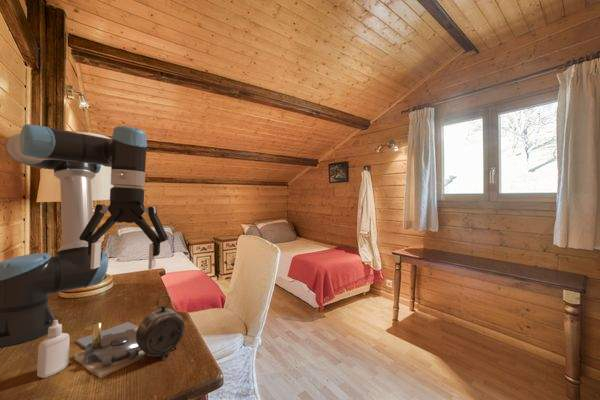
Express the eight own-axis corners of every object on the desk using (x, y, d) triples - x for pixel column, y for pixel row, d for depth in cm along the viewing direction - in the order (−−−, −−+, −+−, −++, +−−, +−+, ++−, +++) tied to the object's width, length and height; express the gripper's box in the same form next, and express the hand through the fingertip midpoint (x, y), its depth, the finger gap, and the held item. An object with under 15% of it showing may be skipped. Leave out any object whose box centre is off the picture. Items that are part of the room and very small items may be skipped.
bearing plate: (72, 357, 68) (72, 354, 68) (133, 333, 81) (134, 330, 81) (99, 378, 60) (99, 374, 60) (162, 348, 73) (162, 345, 73)
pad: (75, 342, 75) (75, 339, 75) (128, 323, 87) (128, 321, 87) (88, 350, 71) (88, 348, 71) (141, 330, 83) (141, 327, 83)
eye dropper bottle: (70, 369, 63) (72, 319, 63) (37, 381, 59) (39, 327, 59) (67, 362, 66) (69, 314, 66) (35, 372, 62) (38, 321, 62)
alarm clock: (177, 345, 75) (179, 288, 75) (186, 352, 71) (188, 292, 72) (134, 361, 67) (136, 297, 67) (141, 371, 63) (144, 303, 63)
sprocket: (72, 353, 68) (74, 323, 68) (134, 330, 81) (135, 304, 81) (99, 373, 60) (101, 339, 60) (162, 344, 73) (163, 316, 73)
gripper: (63, 183, 63) (59, 271, 63) (173, 189, 67) (169, 271, 67) (84, 185, 71) (80, 263, 70) (182, 190, 75) (178, 264, 74)
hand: (124, 268), depth 69 cm, fingers open, 13 cm apart
